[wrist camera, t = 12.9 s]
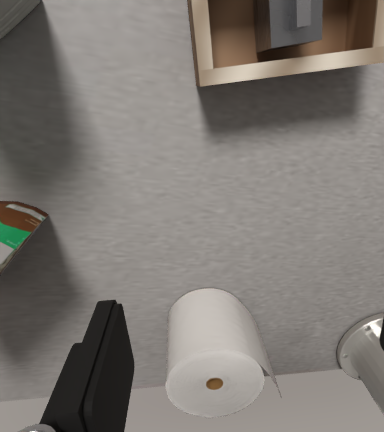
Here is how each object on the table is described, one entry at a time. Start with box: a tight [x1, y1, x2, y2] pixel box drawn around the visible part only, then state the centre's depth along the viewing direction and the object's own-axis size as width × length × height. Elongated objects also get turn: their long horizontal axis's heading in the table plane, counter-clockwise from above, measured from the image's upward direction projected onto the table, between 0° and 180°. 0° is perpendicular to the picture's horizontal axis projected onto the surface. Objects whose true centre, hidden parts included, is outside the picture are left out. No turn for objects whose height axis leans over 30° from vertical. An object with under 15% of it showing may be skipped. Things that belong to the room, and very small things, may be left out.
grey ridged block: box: [253, 0, 323, 53], centre depth 25 cm, size 4×5×6 cm
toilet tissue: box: [166, 288, 278, 418], centre depth 38 cm, size 11×12×10 cm
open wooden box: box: [187, 0, 384, 87], centre depth 26 cm, size 15×9×5 cm, turn 97°
